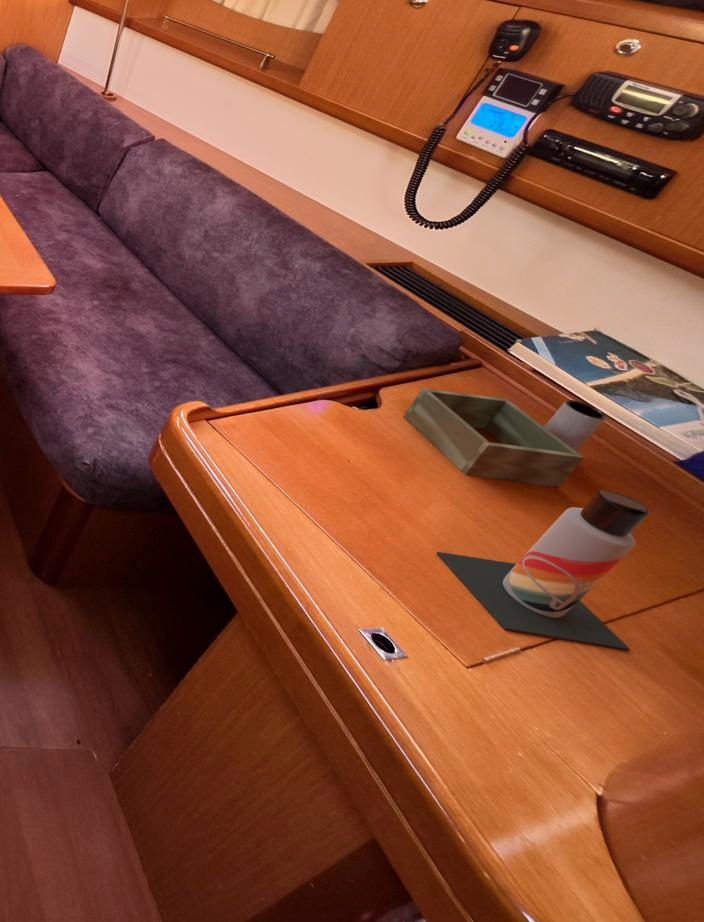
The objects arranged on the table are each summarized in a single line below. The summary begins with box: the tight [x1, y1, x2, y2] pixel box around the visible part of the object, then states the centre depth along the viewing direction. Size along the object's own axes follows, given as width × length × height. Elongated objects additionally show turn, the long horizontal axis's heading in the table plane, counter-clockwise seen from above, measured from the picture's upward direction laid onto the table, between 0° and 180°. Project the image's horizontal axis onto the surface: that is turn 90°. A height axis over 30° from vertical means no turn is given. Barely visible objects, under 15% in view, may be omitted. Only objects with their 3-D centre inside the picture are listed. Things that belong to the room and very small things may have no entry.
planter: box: [543, 399, 607, 453], centre depth 108 cm, size 4×4×10 cm
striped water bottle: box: [503, 489, 649, 618], centre depth 81 cm, size 6×6×20 cm
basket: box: [403, 388, 585, 488], centre depth 109 cm, size 14×14×7 cm
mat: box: [436, 551, 631, 652], centre depth 86 cm, size 14×11×1 cm
